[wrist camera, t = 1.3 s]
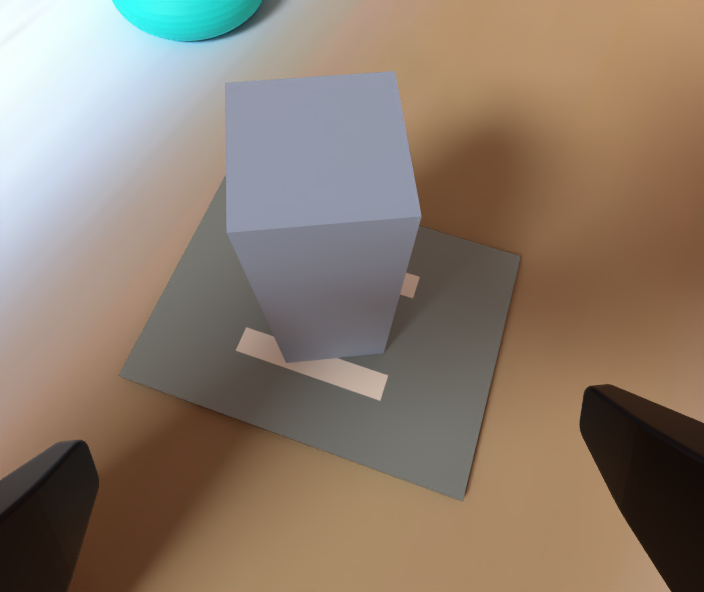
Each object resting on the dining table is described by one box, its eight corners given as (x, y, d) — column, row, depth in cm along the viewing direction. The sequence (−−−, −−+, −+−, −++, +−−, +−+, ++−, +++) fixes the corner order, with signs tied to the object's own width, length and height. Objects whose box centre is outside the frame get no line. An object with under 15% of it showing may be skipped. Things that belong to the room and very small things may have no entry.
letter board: (460, 500, 20) (463, 501, 20) (122, 377, 22) (118, 375, 22) (518, 259, 25) (521, 256, 24) (231, 172, 27) (229, 167, 26)
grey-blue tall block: (383, 353, 22) (421, 216, 11) (286, 363, 22) (226, 232, 11) (371, 265, 24) (395, 71, 13) (281, 274, 24) (224, 82, 13)
